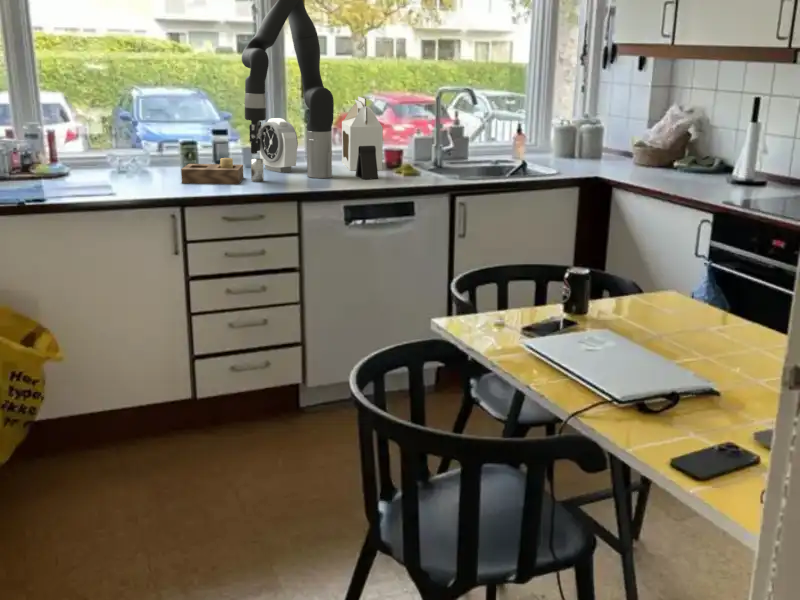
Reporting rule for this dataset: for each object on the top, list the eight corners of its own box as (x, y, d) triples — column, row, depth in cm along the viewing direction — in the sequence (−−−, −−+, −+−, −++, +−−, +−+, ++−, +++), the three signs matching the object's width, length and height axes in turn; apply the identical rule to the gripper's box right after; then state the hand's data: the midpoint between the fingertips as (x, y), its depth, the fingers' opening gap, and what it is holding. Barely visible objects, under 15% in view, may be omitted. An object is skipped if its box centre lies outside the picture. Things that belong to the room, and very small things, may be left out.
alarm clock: (256, 168, 343) (255, 117, 338) (274, 166, 349) (273, 116, 343) (282, 173, 331) (281, 120, 325) (300, 172, 336) (299, 119, 330)
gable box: (341, 163, 363) (341, 95, 355) (372, 163, 366) (373, 95, 358) (349, 171, 342) (350, 99, 334) (382, 170, 345) (383, 99, 337)
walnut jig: (243, 177, 319) (242, 156, 317) (238, 184, 306) (237, 161, 304) (189, 177, 318) (188, 155, 316) (181, 183, 305) (180, 160, 303)
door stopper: (355, 176, 329) (355, 144, 326) (370, 175, 331) (370, 144, 328) (363, 179, 321) (363, 147, 318) (378, 179, 323) (378, 147, 320)
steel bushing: (264, 180, 315) (263, 158, 313) (263, 182, 311) (262, 160, 309) (252, 180, 315) (251, 158, 313) (250, 182, 311) (250, 159, 308)
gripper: (263, 108, 299) (263, 154, 303) (268, 105, 312) (268, 150, 317) (241, 107, 298) (242, 154, 303) (247, 104, 312) (247, 149, 317)
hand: (255, 152), depth 310 cm, fingers open, 8 cm apart
